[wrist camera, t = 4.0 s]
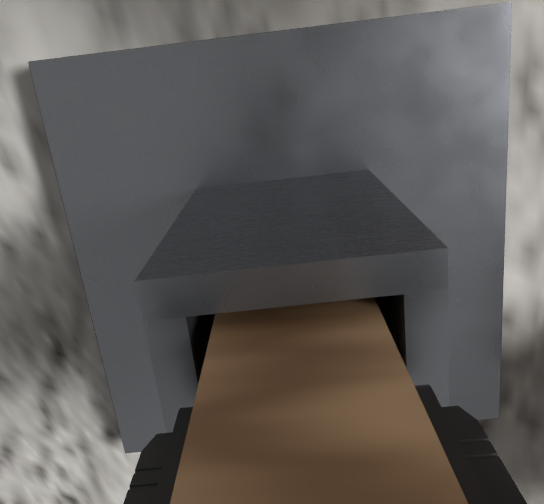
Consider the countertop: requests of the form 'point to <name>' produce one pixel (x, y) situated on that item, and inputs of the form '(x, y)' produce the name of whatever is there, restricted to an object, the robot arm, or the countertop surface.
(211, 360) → the stand post
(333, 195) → the stand base
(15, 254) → the countertop surface
